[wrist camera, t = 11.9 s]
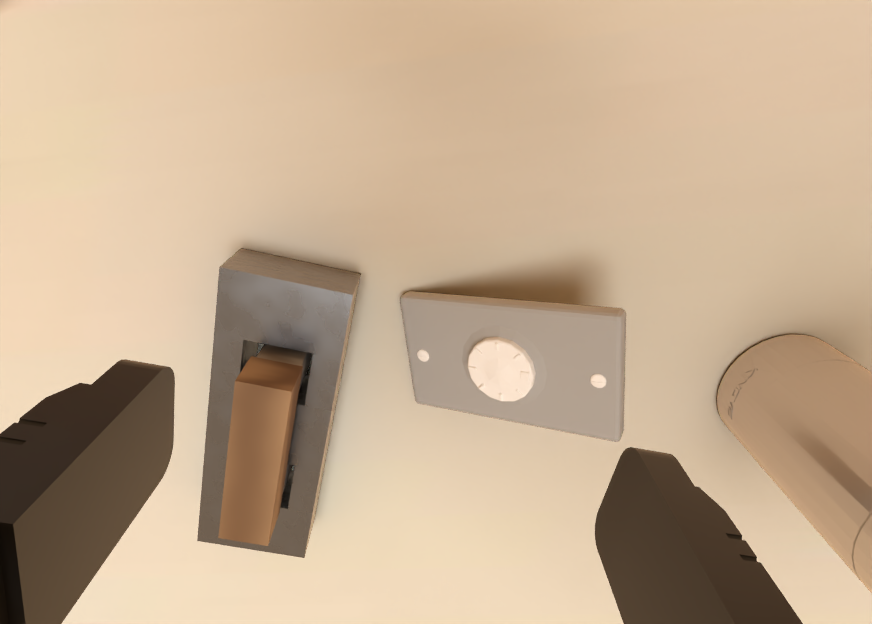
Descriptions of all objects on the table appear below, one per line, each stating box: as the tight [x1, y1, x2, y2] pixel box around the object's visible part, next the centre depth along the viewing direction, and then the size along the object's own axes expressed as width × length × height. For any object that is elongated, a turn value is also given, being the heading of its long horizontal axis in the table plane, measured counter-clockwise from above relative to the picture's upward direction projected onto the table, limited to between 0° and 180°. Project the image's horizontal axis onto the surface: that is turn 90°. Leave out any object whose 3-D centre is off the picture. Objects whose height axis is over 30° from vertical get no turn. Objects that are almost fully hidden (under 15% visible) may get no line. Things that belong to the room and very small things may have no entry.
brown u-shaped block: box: [218, 344, 312, 546], centre depth 37 cm, size 3×12×8 cm, turn 167°
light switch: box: [400, 291, 626, 442], centre depth 36 cm, size 8×6×14 cm
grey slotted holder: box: [197, 248, 361, 558], centre depth 38 cm, size 8×22×4 cm, turn 167°
